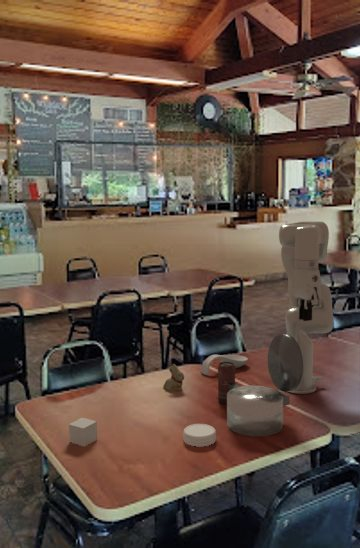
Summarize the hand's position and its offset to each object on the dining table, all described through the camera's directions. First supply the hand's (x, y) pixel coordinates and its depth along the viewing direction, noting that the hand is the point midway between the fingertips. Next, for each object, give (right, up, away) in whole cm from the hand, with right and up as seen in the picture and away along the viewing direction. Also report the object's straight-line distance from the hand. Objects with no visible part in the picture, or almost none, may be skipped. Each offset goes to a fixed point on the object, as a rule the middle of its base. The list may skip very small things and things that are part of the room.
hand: (305, 319), depth 185 cm
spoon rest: (-22, -26, +55) cm, 65 cm away
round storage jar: (-17, -34, +2) cm, 38 cm away
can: (-24, -31, +19) cm, 44 cm away
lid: (-8, -14, -1) cm, 16 cm away
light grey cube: (-71, -37, -12) cm, 81 cm away
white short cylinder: (-35, -36, -12) cm, 52 cm away
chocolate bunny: (-44, -30, +32) cm, 62 cm away
